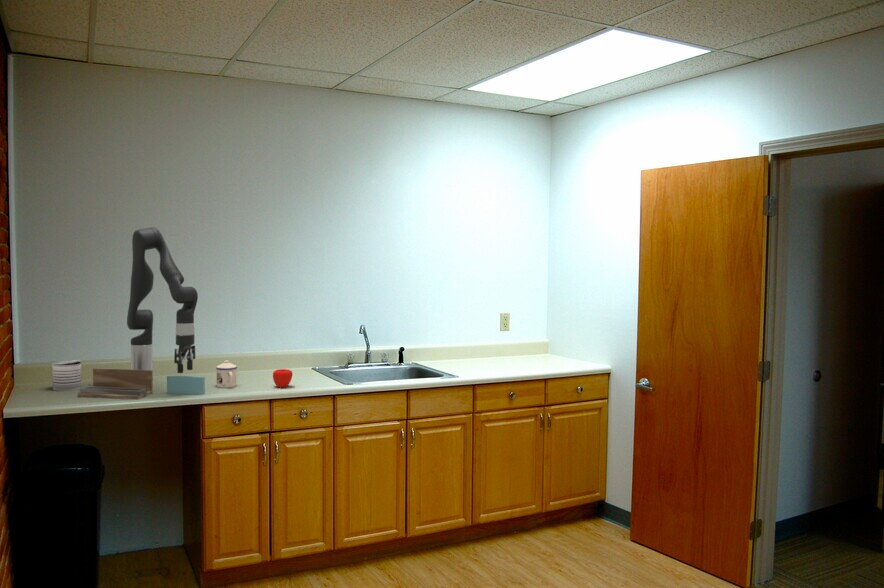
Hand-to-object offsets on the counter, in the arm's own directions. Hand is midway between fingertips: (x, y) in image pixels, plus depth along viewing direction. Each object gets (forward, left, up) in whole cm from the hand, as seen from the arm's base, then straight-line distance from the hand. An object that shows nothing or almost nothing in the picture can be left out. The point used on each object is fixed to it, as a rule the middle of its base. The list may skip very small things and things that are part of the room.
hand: (185, 371), depth 300 cm
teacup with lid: (-19, +11, -10) cm, 24 cm away
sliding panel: (0, 0, -10) cm, 10 cm away
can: (0, -54, -10) cm, 55 cm away
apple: (-24, +35, -10) cm, 43 cm away
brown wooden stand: (+9, -26, -9) cm, 29 cm away
